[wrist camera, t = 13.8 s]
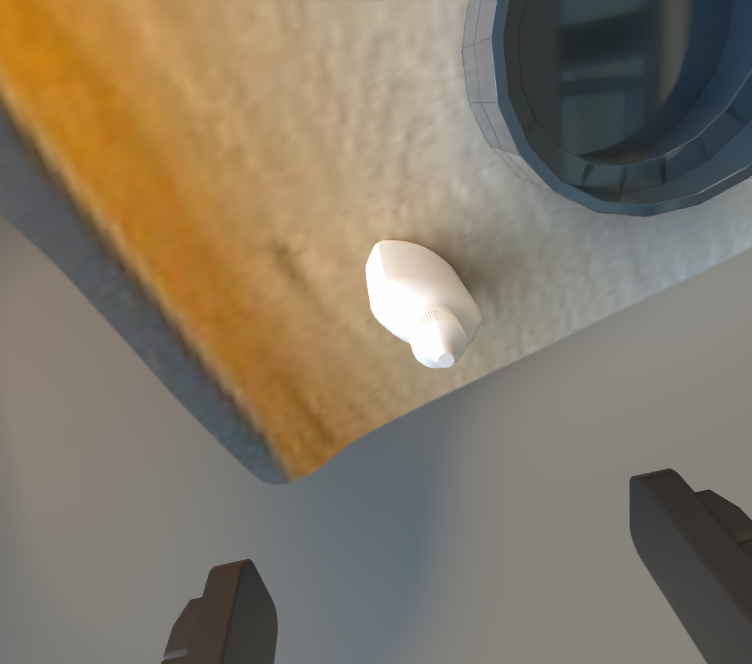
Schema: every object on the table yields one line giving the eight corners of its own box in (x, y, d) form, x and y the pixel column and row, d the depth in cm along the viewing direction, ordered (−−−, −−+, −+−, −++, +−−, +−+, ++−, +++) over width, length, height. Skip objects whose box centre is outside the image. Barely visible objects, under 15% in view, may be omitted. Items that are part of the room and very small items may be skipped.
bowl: (438, -113, 23) (467, -178, 18) (785, -206, 22) (926, -303, 17) (482, 222, 30) (512, 249, 25) (747, 158, 29) (839, 172, 24)
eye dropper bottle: (408, 320, 33) (441, 430, 22) (355, 257, 31) (362, 344, 20) (462, 281, 32) (525, 375, 21) (411, 212, 30) (451, 278, 19)
